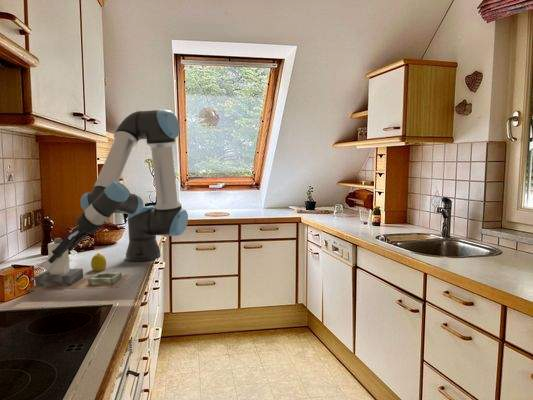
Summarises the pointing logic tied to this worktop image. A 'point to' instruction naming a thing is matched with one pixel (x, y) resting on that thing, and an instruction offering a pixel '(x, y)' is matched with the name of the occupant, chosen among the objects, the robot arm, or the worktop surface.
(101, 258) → the lemon
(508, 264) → the worktop surface
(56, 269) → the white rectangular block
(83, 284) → the board
